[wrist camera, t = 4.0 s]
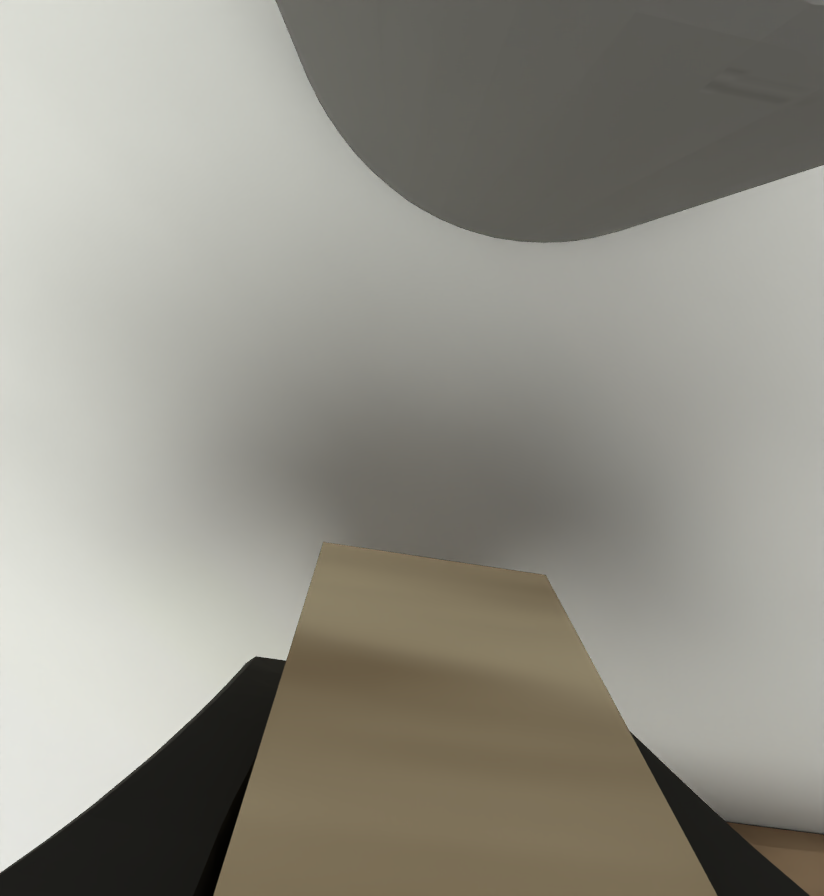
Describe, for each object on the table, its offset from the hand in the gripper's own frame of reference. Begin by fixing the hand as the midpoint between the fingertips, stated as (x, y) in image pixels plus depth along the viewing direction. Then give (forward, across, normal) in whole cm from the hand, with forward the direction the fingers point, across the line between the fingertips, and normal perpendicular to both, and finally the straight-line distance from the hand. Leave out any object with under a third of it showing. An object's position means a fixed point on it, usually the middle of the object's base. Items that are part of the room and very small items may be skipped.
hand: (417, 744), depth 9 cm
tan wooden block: (+2, 0, 0) cm, 2 cm away
